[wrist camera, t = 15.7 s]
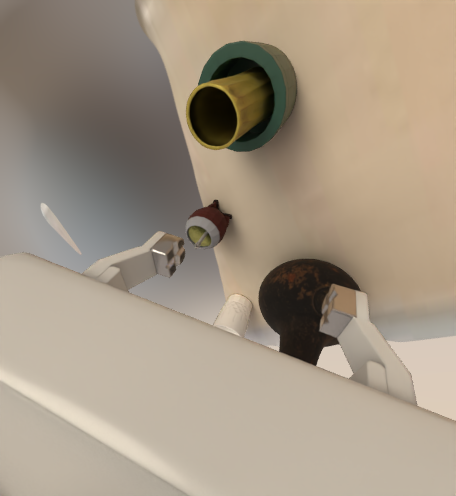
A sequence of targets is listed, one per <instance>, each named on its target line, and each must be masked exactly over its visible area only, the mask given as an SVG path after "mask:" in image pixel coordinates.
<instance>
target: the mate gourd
mask: <svg viewBox="0 0 456 496" xmlns="http://www.w3.org/2000/svg"><path fill="white" fill-rule="evenodd" d="M229 219H232V215H230V214H224V213H221V212H220V211H219V206H218V200H214V201H213V204H211V205H209V206H208V207H204V208H201V209H198V210H196V211H195V212H194V213H193V214H192V215H191V216H190V217H189V219H188V221H187V223H186V227H185V231H186V236H187V238H188V240H189V241H190V242H191V243H192V244H193V245H194V248H195V249H197V248H201V249H208V248H213V247H214V246H216V245H217V244H218V243H219V242H220V241H221V240H222V239H223V237H224V235H225V232H226V229H227V227H228V224H229Z"/></svg>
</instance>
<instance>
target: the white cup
mask: <svg viewBox="0 0 456 496" xmlns="http://www.w3.org/2000/svg"><path fill="white" fill-rule="evenodd" d="M251 310H252V303H251V301H250V300H249V299H247V298H246V297H244V296H242V295H238V294H233V295H230V296H229V297H228V299H227V301H226V303H225V304H224V306H223V308H222V309H221V311H220V313H219V315H218V316H217V318H216V320H215V322H214V324H213V326H215V327H218V328H220V329H223V330H225V331H228V332H230V333H233V334H235V335H238V336H241V337H243V338H244V335H245V332H246V329H247V325H248V322H249V318H250V313H251Z"/></svg>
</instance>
